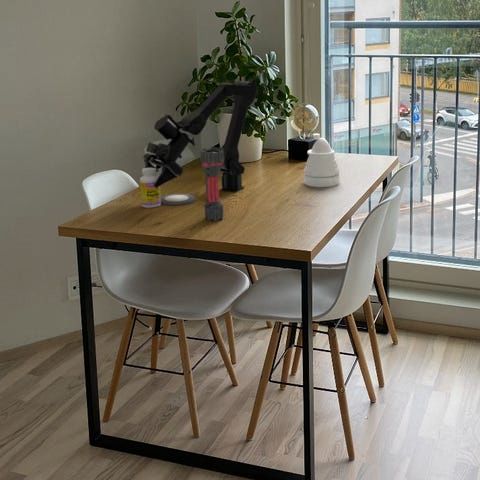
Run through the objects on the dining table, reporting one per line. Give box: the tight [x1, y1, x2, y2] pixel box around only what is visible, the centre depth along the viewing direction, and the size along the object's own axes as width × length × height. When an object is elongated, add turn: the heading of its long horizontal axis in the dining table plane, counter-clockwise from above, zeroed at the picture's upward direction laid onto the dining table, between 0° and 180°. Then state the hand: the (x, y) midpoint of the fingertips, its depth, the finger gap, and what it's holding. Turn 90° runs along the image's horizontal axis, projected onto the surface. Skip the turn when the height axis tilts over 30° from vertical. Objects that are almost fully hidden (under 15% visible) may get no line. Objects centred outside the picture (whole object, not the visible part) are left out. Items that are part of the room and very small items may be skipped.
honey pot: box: [303, 133, 340, 188], centre depth 324 cm, size 13×13×18 cm
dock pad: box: [160, 193, 196, 207], centre depth 309 cm, size 13×13×1 cm
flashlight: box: [200, 146, 224, 222], centre depth 281 cm, size 8×8×23 cm
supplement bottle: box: [139, 168, 162, 209], centre depth 302 cm, size 7×7×13 cm
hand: (148, 184), depth 301 cm, fingers open, 9 cm apart
